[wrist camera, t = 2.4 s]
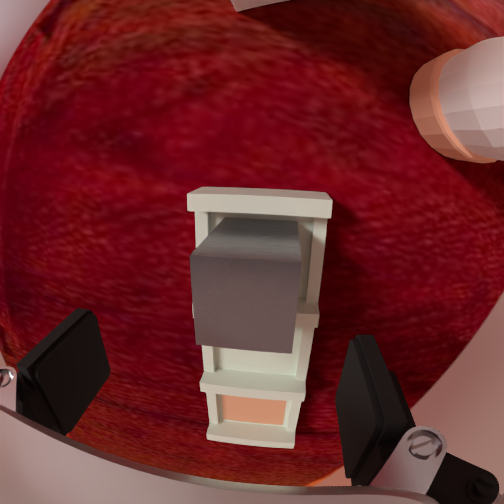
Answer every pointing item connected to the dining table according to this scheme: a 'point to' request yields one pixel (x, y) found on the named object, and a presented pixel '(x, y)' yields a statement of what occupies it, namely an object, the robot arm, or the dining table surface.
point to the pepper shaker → (462, 102)
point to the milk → (252, 3)
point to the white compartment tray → (255, 362)
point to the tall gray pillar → (247, 285)
